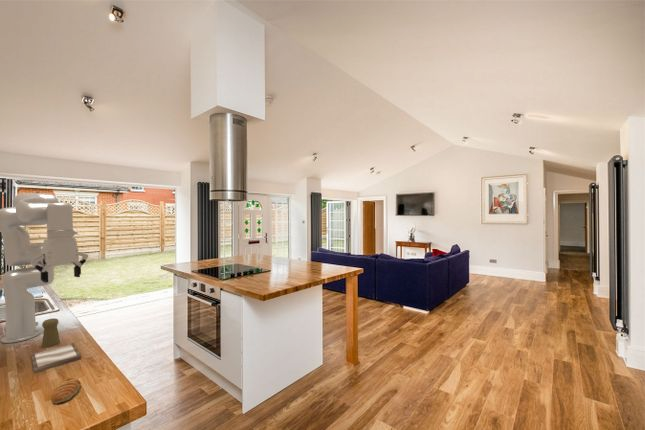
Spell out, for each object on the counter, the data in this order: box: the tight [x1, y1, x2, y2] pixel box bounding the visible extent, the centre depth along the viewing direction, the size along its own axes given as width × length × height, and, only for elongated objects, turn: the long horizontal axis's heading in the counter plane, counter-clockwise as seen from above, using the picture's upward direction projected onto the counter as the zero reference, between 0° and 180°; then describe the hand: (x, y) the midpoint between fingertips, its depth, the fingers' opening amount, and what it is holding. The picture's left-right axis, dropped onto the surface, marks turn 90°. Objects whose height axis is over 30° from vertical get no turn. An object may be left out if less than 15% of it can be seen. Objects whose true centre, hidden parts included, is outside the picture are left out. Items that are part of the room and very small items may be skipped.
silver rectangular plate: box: [30, 343, 82, 374], centre depth 116 cm, size 18×13×1 cm
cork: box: [41, 317, 61, 349], centre depth 128 cm, size 6×6×11 cm
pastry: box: [50, 376, 82, 405], centre depth 91 cm, size 9×7×4 cm
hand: (61, 279), depth 114 cm, fingers open, 9 cm apart
